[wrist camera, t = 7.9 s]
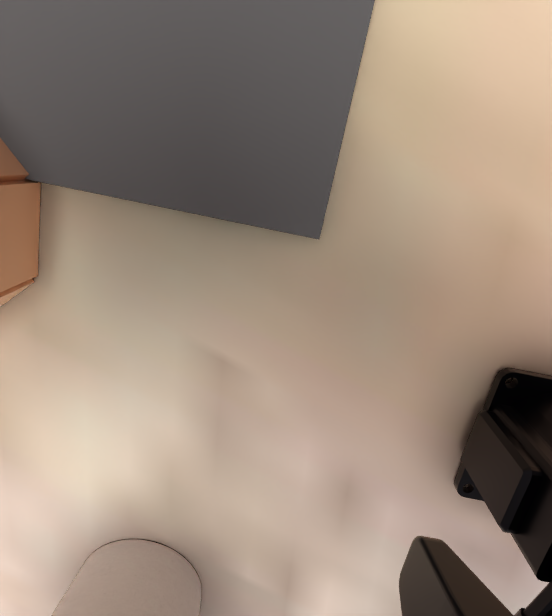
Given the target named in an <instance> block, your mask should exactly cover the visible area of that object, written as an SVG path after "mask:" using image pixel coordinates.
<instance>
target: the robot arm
mask: <svg viewBox="0 0 552 616" xmlns="http://www.w3.org/2000/svg"><path fill="white" fill-rule="evenodd" d="M509 378H513V380H512V382H511V383H509V384H505V383H506V381H507V379H509ZM461 461H462V463H461V466H460V468H459V471H458V473H457V476H456V478H455V481H454V485H455V488H456V490H457V492H458V493H459V494H460V495H461V496H463V497H466V498H472V499H477V500H482V501H485V503H486V505H487V506H488V508H489V510H490V512H491V513H492V515H493V517H494V518H495V520H496V522H497V524H498V525H499V527H500V528H501V530H502V531H503V532H507V533H511V535H512V537H513V538H514V540H515V542H516V543H517V545H518V547H519V548H520V550H521V552H522V554H523V555H524V557H525V559H526V560H527V562H528V564H529V565H530V567H531V569H532V570H533V572H534V574H535V575H536V577H537V578H538V579H539V580H541V581H545V582H550V583H549V584H548V585H547V586H546V587H545V588H544V589H543V590H542V591H541V592H540V593H539V594H538V596H537V597H536V598H535V599H534V600H533V601H532V602H531V603H530V604H529V605H528V606H527V607H526V609H525V608H521V609H520V610H519V611H518V612H517V613H516V614H515V615H514V616H552V376H548V375H543V374H538V373H533V372H528V371H523V370H518V369H513V368H505V369H502V370H501V371H500V372H498V374H497V375H496V377H495V380H494V382H493V385H492V387H491V390H490V392H489V395H488V397H487V400H486V403H485V405H484V408H483V410H482V411H481V412H480V413H479V414H478V416H477V418H476V421H475V423H474V426H473V429H472V431H471V434H470V436H469V439H468V441H467V444H466V446H465V449H464V451H463V454H462V456H461ZM466 484H470V485H469V486H467V487H463V486H464V485H466ZM399 592H400V601H401V610H402V616H513V615H512V613H511V612H510V611H509V610H508V609H507V608H506V607H505V606H504V605H503V604H502V603H501V602H500V601H499V600H498V599H497V597H496V596H495V595H494V594H493V593H492V592H491V591H490V590H489V589H488V588H487V587H486V586H485V585H484V584H483V583H482V582H481V580H480V579H479V578H478V577H477V576H476V575H475V574H474V573H473V572H472V571H471V570H470V569H469V568H468V567H467V566H466V564H465V563H464V562H463V561H462V560H461V559H460V558H459V557H458V556H457V555H456V554H455V553H454V552H453V551H452V550H451V549H450V547H449V546H448V545H447V544H446V543H445V542H443V541H442V540H439V539H435V538H430V537H425V536H417V537H416V538H415V539H414V540H413V542H412V544H411V547H410V549H409V552H408V554H407V557H406V560H405V562H404V565H403V568H402V570H401V573H400V579H399Z"/></svg>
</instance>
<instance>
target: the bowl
mask: <svg viewBox="0 0 552 616" xmlns="http://www.w3.org/2000/svg"><path fill="white" fill-rule="evenodd" d="M28 175H29V173H28V172H27V171H26V170H25V168H24V167H23V166H22V165H21V163H20V162H19V161H18V160H17V158H16V157H15V156H14V155H13V153H12V152H11V151H10V149H9V148H8V147H7V146H6V144H5V143H4V142H3V141H2V139H1V138H0V307H1V306H2V305H4V304H5V303H6V302H8V301H9V300H10V299H12V298H13V297H15V296H16V295H17V294H19V293H20V292H21V291H23V290H24V289H26V288H27V287H28V286H30V285H31V284H32V283H34V281H33V279H32V278H34V277H36V276H38V253H39V222H40V192H41V182H36V181H32V180H28V179H24V178H25V177H27V176H28Z"/></svg>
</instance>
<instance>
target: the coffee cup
mask: <svg viewBox="0 0 552 616" xmlns="http://www.w3.org/2000/svg"><path fill="white" fill-rule="evenodd" d="M201 595H202V589H201V583H200V579H199V577H198V575H197V573H196V571H195V569H194V568H193V567H192V565H191V564H190V563H189V562H188V561H187V560H186V559H185V558H184V557H183V556H181V555H180V554H179V553H177V552H176V551H174V550H172V549H171V548H169V547H166V546H164V545H161V544H159V543H155V542H151V541H146V540H137V539H129V540H120V541H116V542H112V543H109V544H107V545H104V546H102V547H100V548H99V549H97V550H96V551H95V552H93V553H92V554H91V555H90V556H89V557H88V559H87V560H86V561H85V563H84V564H83V566H82V568H81V569H80V571H79V572H78V574H77V575H76V577H75V579H74V580H73V582H72V583H71V585H70V587H69V588H68V590H67V591H66V593H65V595H64V596H63V598H62V599H61V601H60V603H59V604H58V606H57V607H56V609H55V611H54V612H53V614H52V615H51V616H199V614H200V605H201Z"/></svg>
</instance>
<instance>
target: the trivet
mask: <svg viewBox="0 0 552 616" xmlns="http://www.w3.org/2000/svg"><path fill="white" fill-rule="evenodd" d="M374 1H375V0H0V138H1V139H2V141H3V142H4V143H5V144H6V146H7V147H8V148H9V149H10V151H11V152H12V153H13V155H14V156H15V157H16V158H17V160H18V161H19V162H20V163H21V165H22V166H23V167H24V168H25V170H26V171H27V172H28V173H29V175H28V176H27V177H25V178H24V179H28V180H33V181H38V182H43V183H48V184H53V185H57V186H62V187H67V188H72V189H77V190H82V191H87V192H91V193H96V194H101V195H106V196H111V197H116V198H120V199H125V200H130V201H135V202H140V203H145V204H150V205H154V206H159V207H164V208H169V209H174V210H179V211H184V212H188V213H193V214H198V215H203V216H208V217H213V218H218V219H222V220H227V221H232V222H237V223H242V224H247V225H251V226H256V227H261V228H266V229H271V230H276V231H281V232H285V233H290V234H295V235H300V236H305V237H310V238H315V239H319V238H320V234H321V230H322V225H323V221H324V217H325V212H326V208H327V204H328V200H329V195H330V191H331V187H332V182H333V178H334V174H335V169H336V165H337V161H338V156H339V152H340V148H341V144H342V139H343V135H344V131H345V126H346V122H347V118H348V113H349V109H350V105H351V100H352V96H353V92H354V87H355V83H356V79H357V75H358V70H359V66H360V62H361V57H362V53H363V49H364V44H365V40H366V36H367V31H368V27H369V23H370V19H371V14H372V10H373V6H374Z"/></svg>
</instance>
